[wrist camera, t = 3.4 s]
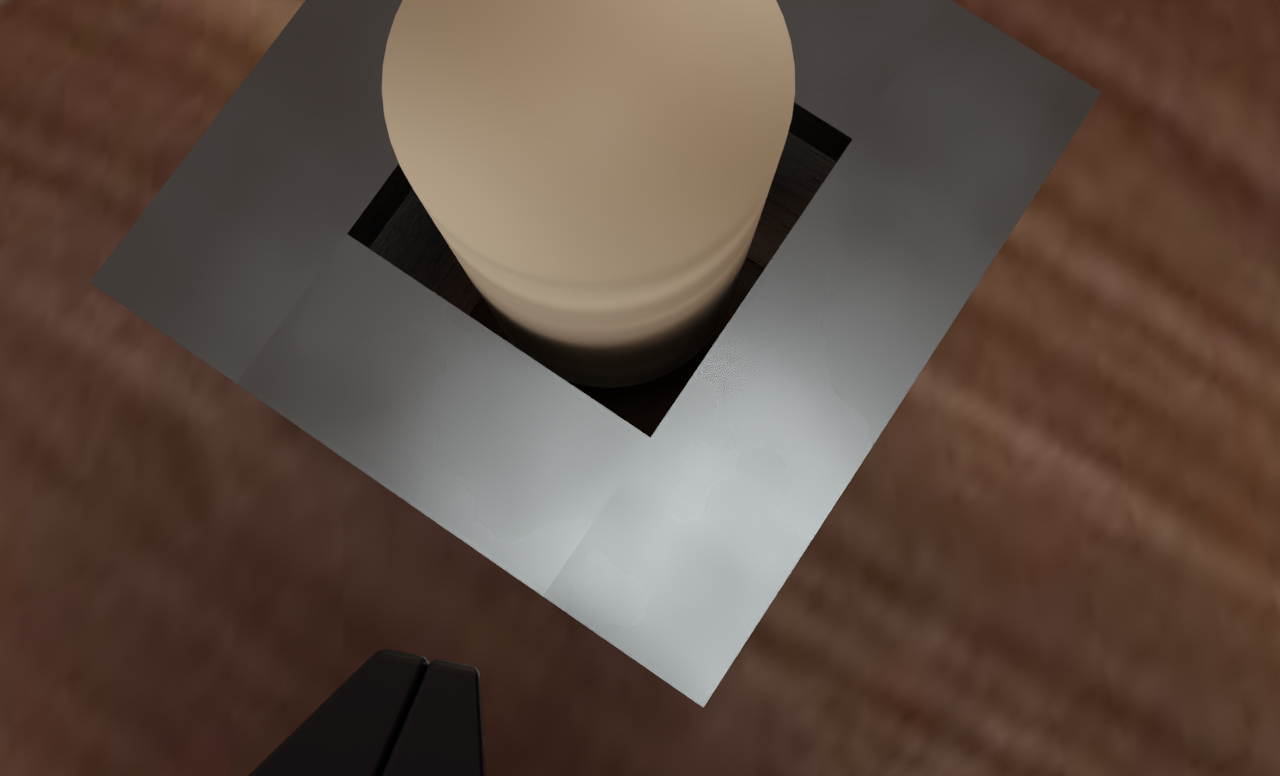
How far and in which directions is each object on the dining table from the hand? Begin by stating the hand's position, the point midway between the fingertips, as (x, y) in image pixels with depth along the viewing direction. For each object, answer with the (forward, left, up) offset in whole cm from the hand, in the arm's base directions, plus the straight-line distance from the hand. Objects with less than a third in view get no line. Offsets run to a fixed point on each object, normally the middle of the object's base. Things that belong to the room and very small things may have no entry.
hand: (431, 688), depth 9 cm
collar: (+6, +2, -13) cm, 15 cm away
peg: (+6, +2, -10) cm, 12 cm away
